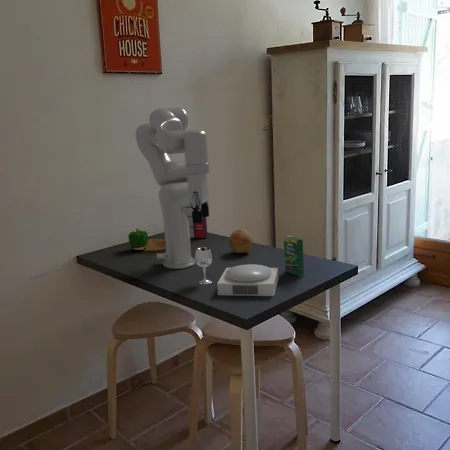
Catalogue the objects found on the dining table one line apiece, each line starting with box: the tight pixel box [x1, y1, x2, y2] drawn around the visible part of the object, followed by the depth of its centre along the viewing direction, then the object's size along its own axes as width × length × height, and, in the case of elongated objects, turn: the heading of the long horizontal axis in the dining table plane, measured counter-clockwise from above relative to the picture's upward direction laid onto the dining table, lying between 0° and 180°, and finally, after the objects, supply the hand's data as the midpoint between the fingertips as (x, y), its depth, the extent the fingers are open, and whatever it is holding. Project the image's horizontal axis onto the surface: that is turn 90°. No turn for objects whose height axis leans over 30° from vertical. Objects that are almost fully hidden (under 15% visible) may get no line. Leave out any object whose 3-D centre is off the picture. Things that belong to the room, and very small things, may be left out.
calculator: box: [181, 205, 208, 239], centre depth 237 cm, size 11×4×15 cm, turn 81°
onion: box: [228, 228, 254, 254], centre depth 209 cm, size 10×10×10 cm
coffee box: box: [283, 235, 305, 278], centre depth 180 cm, size 8×3×13 cm, turn 28°
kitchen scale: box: [216, 264, 279, 297], centre depth 170 cm, size 18×17×5 cm
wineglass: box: [194, 246, 213, 285], centre depth 177 cm, size 6×6×12 cm
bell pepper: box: [127, 227, 149, 250], centre depth 223 cm, size 8×8×10 cm
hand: (201, 219), depth 173 cm, fingers open, 9 cm apart
